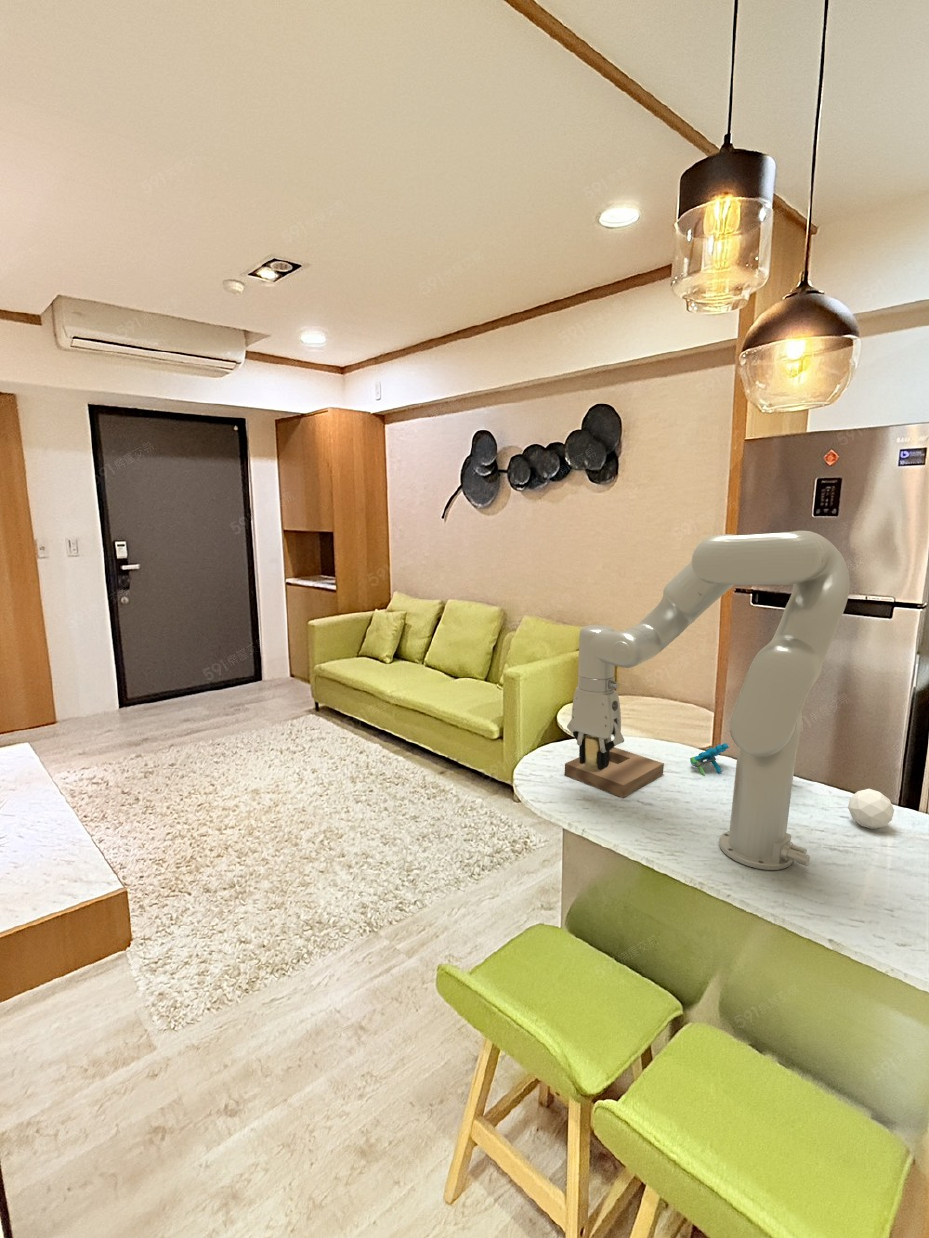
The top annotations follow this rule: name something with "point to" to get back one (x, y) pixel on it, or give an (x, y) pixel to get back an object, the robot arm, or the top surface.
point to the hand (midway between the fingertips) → (593, 764)
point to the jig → (618, 772)
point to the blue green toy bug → (708, 757)
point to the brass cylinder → (591, 753)
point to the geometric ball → (871, 808)
